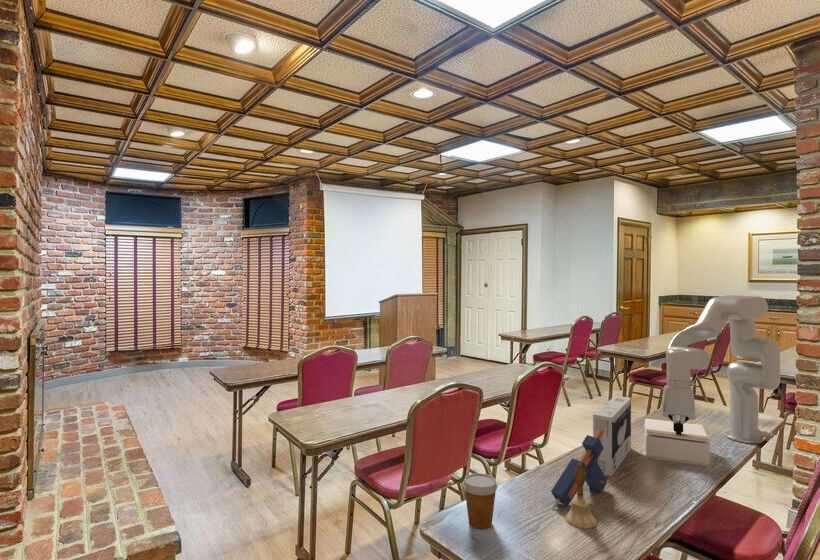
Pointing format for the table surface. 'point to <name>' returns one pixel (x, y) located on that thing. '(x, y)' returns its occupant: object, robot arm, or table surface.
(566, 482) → the glue gun
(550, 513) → the table surface
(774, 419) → the table surface
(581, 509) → the hand bell
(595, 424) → the packaging
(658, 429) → the lid
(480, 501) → the disposable coffee cup
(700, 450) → the box
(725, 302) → the robot arm
